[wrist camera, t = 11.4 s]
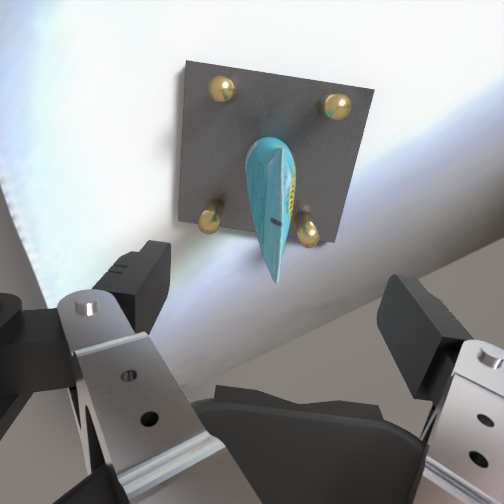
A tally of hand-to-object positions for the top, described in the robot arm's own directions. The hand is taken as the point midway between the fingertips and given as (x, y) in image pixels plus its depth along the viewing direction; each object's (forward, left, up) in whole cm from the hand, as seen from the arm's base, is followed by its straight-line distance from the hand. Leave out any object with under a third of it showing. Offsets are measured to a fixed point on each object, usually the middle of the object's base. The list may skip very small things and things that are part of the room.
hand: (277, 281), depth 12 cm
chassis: (0, 0, -27) cm, 27 cm away
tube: (0, 0, -25) cm, 25 cm away
